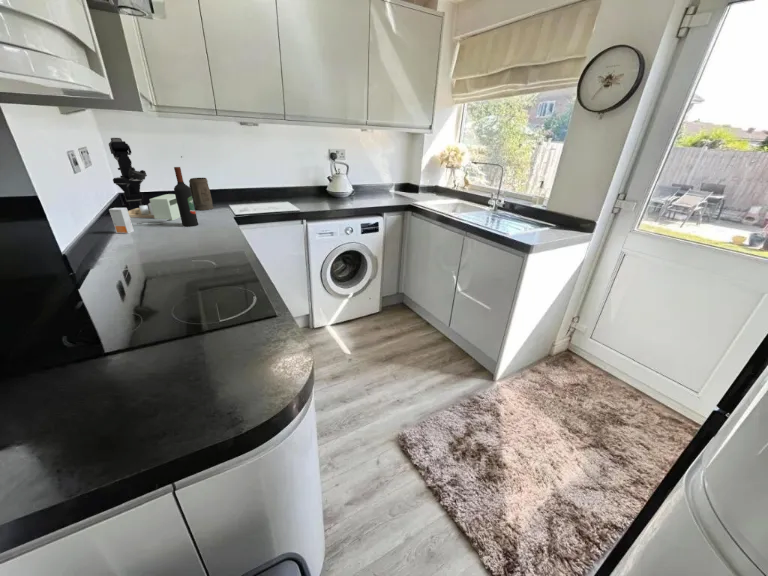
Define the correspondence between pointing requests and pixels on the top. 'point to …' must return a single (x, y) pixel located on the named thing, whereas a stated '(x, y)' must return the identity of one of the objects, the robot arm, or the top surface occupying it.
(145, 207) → the white rounded cylinder
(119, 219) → the skincare box
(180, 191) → the wine bottle
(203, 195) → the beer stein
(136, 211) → the tray
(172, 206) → the pale green box
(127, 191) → the robot arm
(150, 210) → the white box
